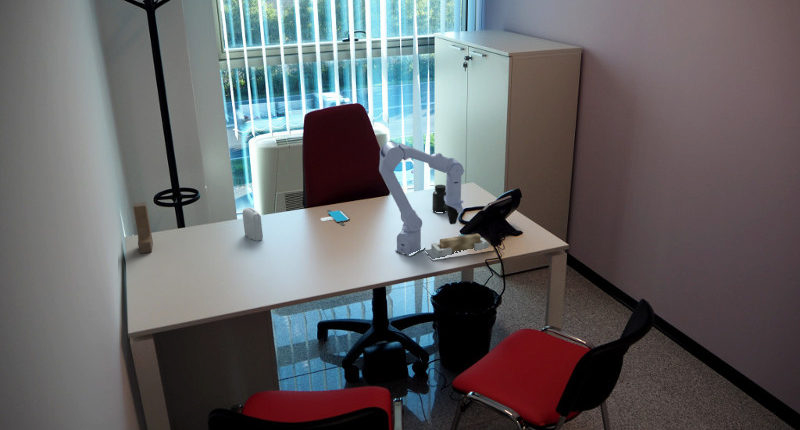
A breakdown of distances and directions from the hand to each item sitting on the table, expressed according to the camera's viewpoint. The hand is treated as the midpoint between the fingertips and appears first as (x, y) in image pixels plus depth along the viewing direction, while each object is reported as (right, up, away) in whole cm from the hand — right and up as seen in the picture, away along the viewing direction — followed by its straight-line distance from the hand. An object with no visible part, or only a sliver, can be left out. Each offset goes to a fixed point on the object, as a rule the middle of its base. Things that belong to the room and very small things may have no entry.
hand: (452, 223), depth 250 cm
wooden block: (-121, -10, +3) cm, 122 cm away
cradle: (+3, -11, -2) cm, 11 cm away
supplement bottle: (-3, +5, +37) cm, 38 cm away
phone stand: (-50, +1, +32) cm, 59 cm away
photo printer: (-81, -6, +13) cm, 82 cm away
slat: (+3, -10, -3) cm, 11 cm away
